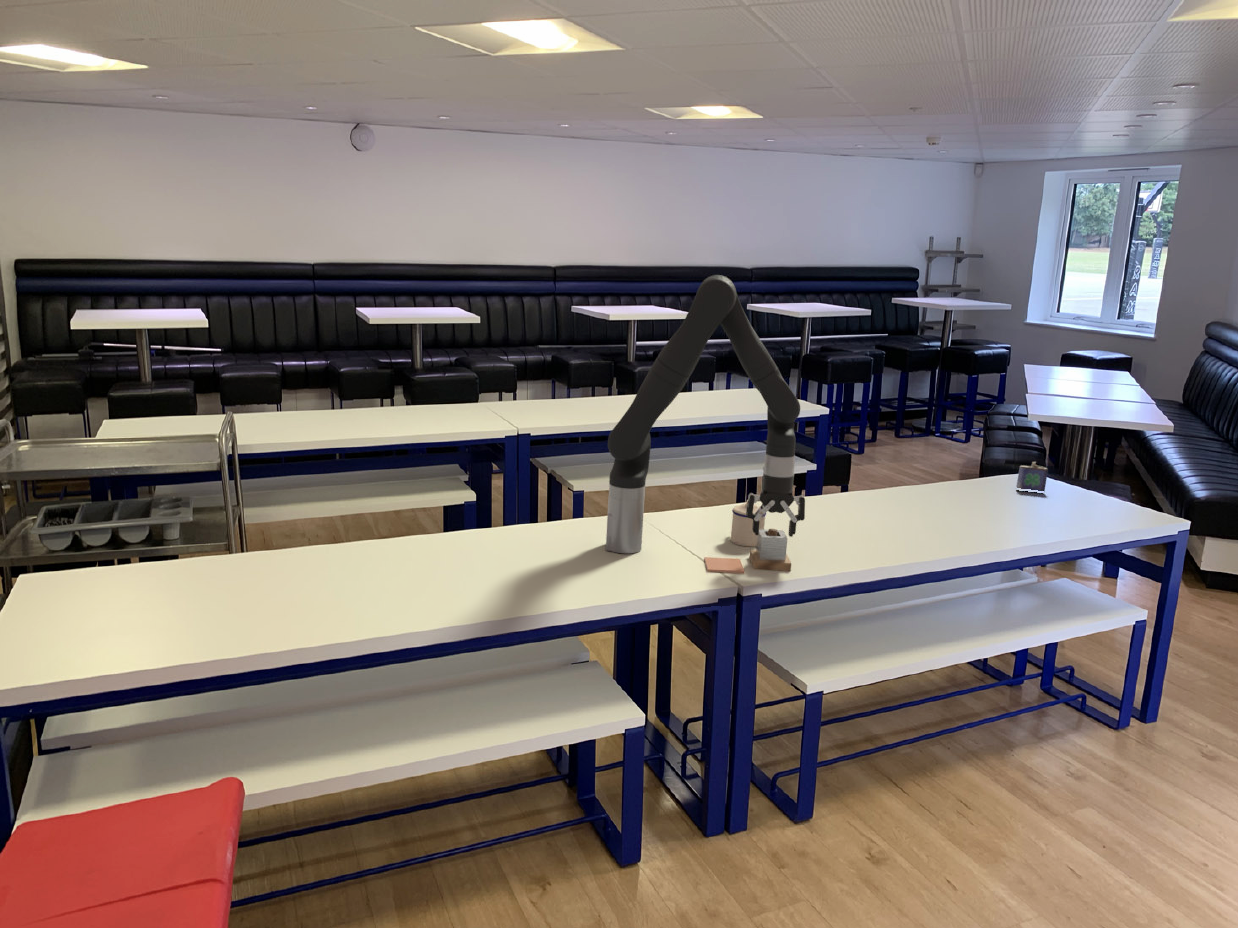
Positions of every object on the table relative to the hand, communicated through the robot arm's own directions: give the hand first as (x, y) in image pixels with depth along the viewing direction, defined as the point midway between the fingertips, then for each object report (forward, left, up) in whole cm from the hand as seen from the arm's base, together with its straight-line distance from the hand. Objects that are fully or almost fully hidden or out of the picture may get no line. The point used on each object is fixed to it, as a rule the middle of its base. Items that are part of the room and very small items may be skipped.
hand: (773, 535), depth 232 cm
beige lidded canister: (-4, +19, -8) cm, 21 cm away
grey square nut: (0, 0, -6) cm, 6 cm away
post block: (0, 0, -8) cm, 8 cm away
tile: (-12, -3, -8) cm, 15 cm away
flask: (+105, +90, -8) cm, 138 cm away
